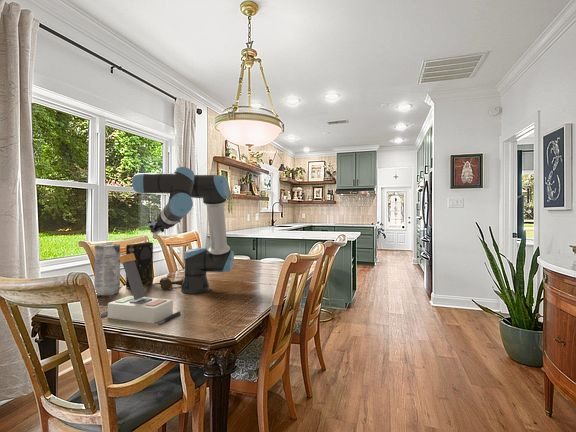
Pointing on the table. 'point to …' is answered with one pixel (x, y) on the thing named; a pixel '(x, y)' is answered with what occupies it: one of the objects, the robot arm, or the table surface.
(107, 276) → the juice carton
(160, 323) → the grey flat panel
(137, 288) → the lever
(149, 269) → the voltmeter
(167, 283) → the kendama
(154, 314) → the breaker housing
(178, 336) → the table surface
